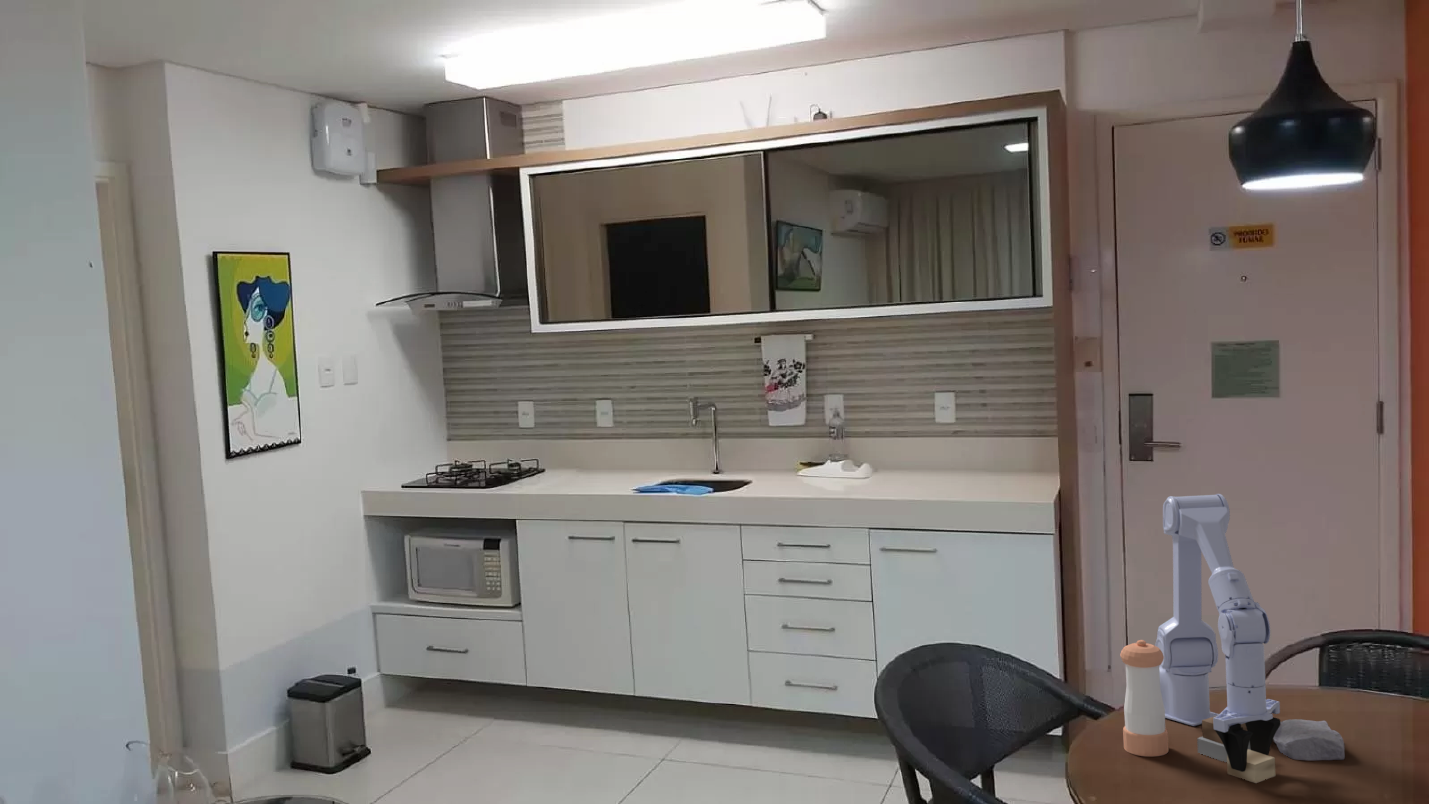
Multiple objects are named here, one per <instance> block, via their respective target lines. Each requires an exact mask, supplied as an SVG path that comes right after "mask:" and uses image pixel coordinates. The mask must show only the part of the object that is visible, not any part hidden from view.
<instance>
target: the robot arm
mask: <svg viewBox="0 0 1429 804" xmlns="http://www.w3.org/2000/svg"><path fill="white" fill-rule="evenodd" d="M1230 516H1231V515H1230V507H1229V502H1228V500H1227V498H1225V496H1224V495H1223V494H1221V493H1215V494H1205V495H1204V494H1203V495H1185V496H1183V495H1182V496H1174V495H1173V496H1172V495H1170V496H1168V497H1166V500H1165V501H1164V502H1163V505H1162V529H1163V534H1164V535H1167V536H1171V538H1172V568H1173V569H1172V574H1173V575H1172V580H1173V581H1172V584H1173V585H1172V586H1173V589H1172V591H1173V593H1172V594H1173V595H1172V597H1173V602H1172V603H1173V605H1172V606H1173V611H1172V613H1173V616H1172V617H1171V618H1169V619H1168V620H1166V621H1164V623H1161V624H1160V625H1159V626H1158V627H1157V628H1158V629H1157V633H1156V634H1157V636H1156V641H1155V644H1154V646H1156V647H1158V648H1159V649H1160V650H1161V651H1162V653H1163V656H1164V659H1163V662H1162V663H1161V665H1159V672H1160V690H1161V695H1162V699H1163V704H1164V709H1165V719H1168V720H1172V721H1176V722H1178V723H1182V724H1185V725H1189V726H1192V727H1196V726H1199V725H1202V720H1204V719H1208V718H1211V717H1214V718H1213V726H1214V730H1215V731H1216V733H1217V734H1218V736H1219V737H1220V739H1221V741H1222V743H1223V745H1224V747H1225V749H1226V752H1227V755H1228V758H1229V762H1230V765H1231V768H1232V769H1235V770H1238V771H1241V772H1244V771H1245V770H1246V765H1247V750H1248V745H1249V741H1250V748H1251V750H1252V751H1255V752H1258V753H1262V754H1265V755H1268V756H1270V750H1271V746H1272V742H1273V741H1274V739H1273V738H1274V735H1275V733H1276V731H1277V730H1278V728H1279V726H1280V725H1281V723H1280V722H1281V719H1280V718H1278V717H1274V715H1277V714H1281V706H1280V705H1281V702H1280V701H1277V700H1274V699H1270V698H1267V689H1266V687H1267V686H1266V661H1265V645H1266V644H1268V643H1269V642H1270V638H1271V625H1270V621H1269V617H1268V614H1267V612H1266V610H1265V609H1264V608H1263V607H1262V606H1261V605H1260V603H1259V602H1257V601H1255V600H1254V596H1253V594H1252V592H1251V589H1250V587H1249V583H1248V581H1247V579H1246V577H1245V575H1244V573H1243V571H1242V570H1239V569H1237V568H1235V566H1234V562H1233V559H1232V555H1231V552H1230V547H1229V544H1228V541H1227V540H1228V539H1227V536H1226V534H1227V531H1228V528H1229V523H1230V519H1231V518H1230ZM1202 555H1203V556H1202ZM1202 557H1203V558H1204V559H1205V562H1206V564H1207V566H1208V568H1209V570H1210V572H1211V575H1210V577H1209V578H1208V581H1207V583H1208V586H1209V589H1210V592H1211V596H1212V597H1213V602H1214V604H1215V607H1216V610H1217V612H1218V614H1219V615H1218V619H1217V620H1218V621H1217V629H1218V634H1219V637H1220V643H1221V651H1222V653H1223V655H1224V657H1225V680H1226V682H1225V683H1226V701H1227V702H1226V703H1227V706H1226V707H1225V708H1224V709H1223V710H1222V711H1221V712H1220V713H1216V712H1213V711H1211V710H1210V709H1211V708H1210V707H1211V706H1210V684H1209V683H1210V682H1209V679H1210V678H1209V674H1210V673H1212V672H1213V671H1212V669H1213V668H1215V666H1216V665H1217V663H1218V660H1219V650H1218V648H1219V647H1218V644H1217V639H1216V638H1217V637H1216V632H1215V630H1214V629H1213V627H1212V626H1211V625H1210V624H1208V623H1207V622H1205V621H1204V620H1203V619H1202V617H1203V616H1202V607H1203V606H1202V601H1203V600H1202ZM1264 644H1265V645H1264ZM1273 714H1274V715H1273ZM1215 716H1216V717H1215ZM1243 723H1245V725H1246V728H1247V731H1246V730H1243V727H1242V728H1241V724H1243Z"/></svg>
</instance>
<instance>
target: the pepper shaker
mask: <svg viewBox="0 0 1429 804" xmlns="http://www.w3.org/2000/svg"><path fill="white" fill-rule="evenodd" d="M1119 655H1120V659H1121V662H1123V664H1125V678H1126V679H1125V680H1126V683H1125V684H1126V685H1125V686H1126V689H1125V696H1124V705H1123V712H1124V713H1123V714H1124V726H1123V729H1122V733H1123V736H1122V737H1123V748H1124V750H1125V752H1127V753H1129V754H1131V755H1135V756H1141V757H1150V758H1151V757H1160V756H1164V755H1166V754H1167V753H1168V752H1169V750H1170V749H1169V732H1168V729H1167V728H1166V718H1165V709H1164V704H1163V699H1162V695H1161V690H1160V672H1159V667H1160V665H1161V663H1162V662H1163V659H1164V656H1163V653H1162V651H1161V650H1160V649H1159V648H1158V647H1156V646H1155V644H1152V643H1147V641H1146V640H1144V639H1140V640H1139V639H1138V640H1137V641H1136V642H1133V643H1130V644H1127V645H1125V646H1123V648H1122V649H1121V652H1120V654H1119Z"/></svg>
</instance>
